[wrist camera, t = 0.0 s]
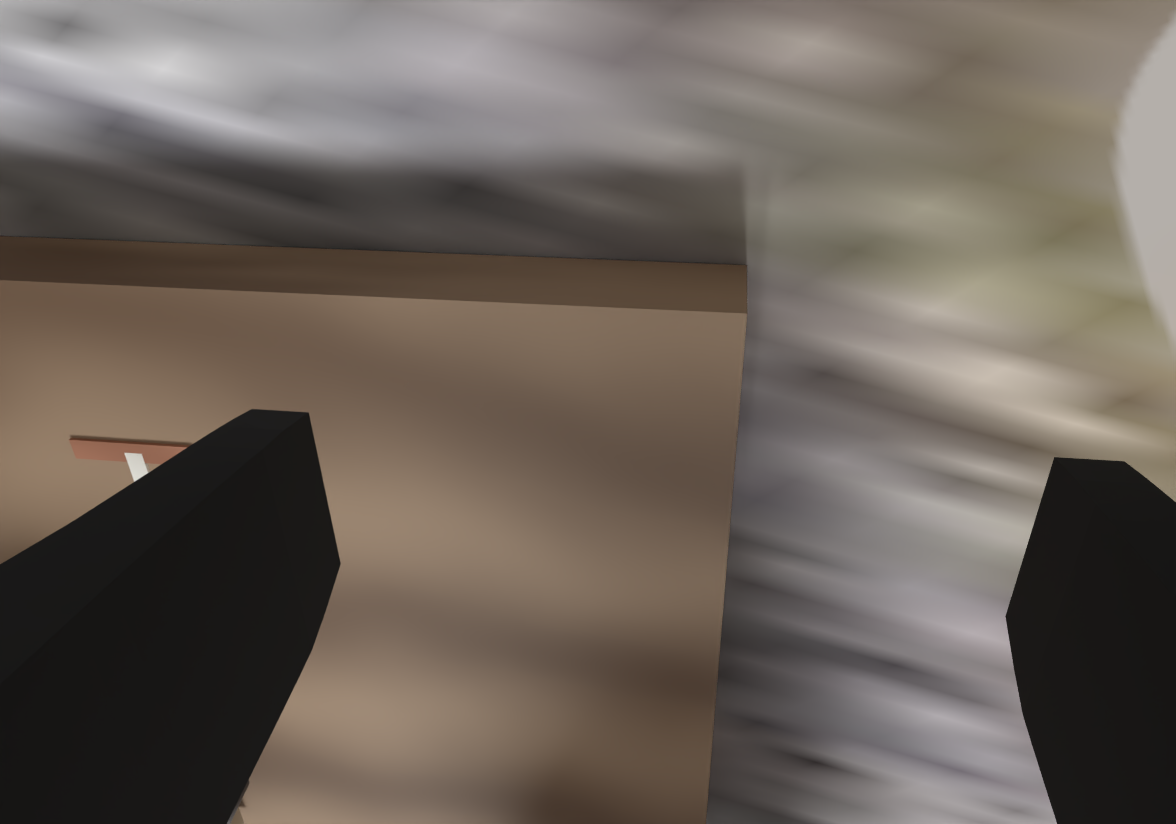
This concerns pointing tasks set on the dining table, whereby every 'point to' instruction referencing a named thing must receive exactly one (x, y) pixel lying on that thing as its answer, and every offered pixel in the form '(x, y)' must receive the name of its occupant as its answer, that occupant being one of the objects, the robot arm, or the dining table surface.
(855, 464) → the dining table surface
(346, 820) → the board
